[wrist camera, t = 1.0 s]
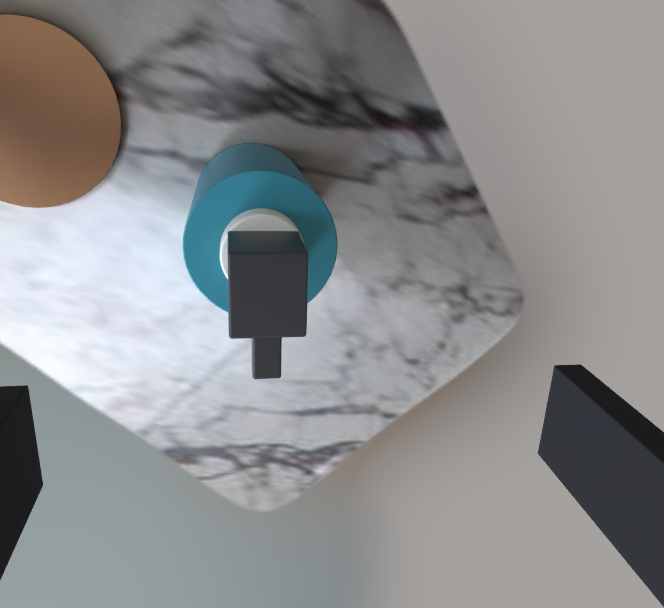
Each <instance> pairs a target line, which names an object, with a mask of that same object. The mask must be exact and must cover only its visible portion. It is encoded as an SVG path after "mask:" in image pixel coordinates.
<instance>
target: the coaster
mask: <svg viewBox="0 0 664 608" xmlns="http://www.w3.org/2000/svg"><path fill="white" fill-rule="evenodd" d="M121 132H122V119H121V112H120V106H119V102H118V98H117V95H116V92H115V90H114V87H113V85H112V82H111V80H110V79H109V77H108V75H107V73H106V71H105V70H104V68H103V67H102V66H101V64H100V63H99V61H98V60H97V59H96V58H95V57H94V55H93V54H92V53H91V52H90V51H89V50H88V49H87V48H86V47H85V46H84V45H83V44H81V43H80V42H79V41H78V40H77V39H75V38H74V37H73V36H71V35H70V34H68V33H67V32H65V31H64V30H62V29H60V28H58V27H56V26H54V25H52V24H50V23H47V22H44V21H42V20H39V19H35V18H32V17H28V16H22V15H14V14H0V201H2V202H6V203H9V204H12V205H18V206H23V207H35V208H39V207H51V206H57V205H61V204H65V203H68V202H71V201H73V200H75V199H77V198H79V197H81V196H83V195H84V194H86V193H88V192H89V191H91V190H92V189H93V188H94V187H95V186H96V185H97V184H98V183H100V181H101V180H102V179H103V178H104V177H105V175H106V174H107V173H108V171H109V170H110V168H111V166H112V165H113V163H114V160H115V158H116V156H117V153H118V149H119V145H120V140H121Z"/></svg>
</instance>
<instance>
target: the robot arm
mask: <svg viewBox="0 0 664 608" xmlns="http://www.w3.org/2000/svg"><path fill="white" fill-rule="evenodd" d="M538 454H539V455H540V457H541V458H542V459H543V460H544V461H545V463H546V464H547V465H548V466H549V468H550V469H551V470H552V471H553V472H554V474H555V475H556V476H557V477H558V479H559V480H560V481H561V482H562V483H563V485H564V486H565V487H566V488H567V489H568V491H569V492H570V493H571V494H572V496H573V497H574V498H575V499H576V501H577V502H578V503H579V504H580V505H581V507H582V508H583V509H584V510H585V511H586V513H587V514H588V515H589V516H590V518H591V519H592V520H593V521H594V522H595V524H596V525H597V526H598V527H599V528H600V530H601V531H602V532H603V533H604V535H605V536H606V537H607V538H608V539H609V541H610V542H611V543H612V544H613V546H614V547H615V548H616V549H617V550H618V552H619V553H620V554H621V555H622V557H623V558H624V559H625V560H626V561H627V563H628V564H629V565H630V566H631V567H632V569H633V570H634V571H635V572H636V574H637V575H638V576H639V577H640V579H641V580H642V581H643V582H644V583H645V585H646V586H647V587H648V588H649V589H650V591H651V592H652V593H653V594H654V596H655V597H656V598H657V599H658V600H659V602H660V603H661V604H662V605H663V607H664V432H663V431H661V430H660V429H659V428H658V427H656V426H655V425H654V424H653V423H651V422H650V421H649V420H648V419H647V418H645V417H644V416H643V415H642V414H641V413H639V412H638V411H637V410H636V409H634V408H633V407H632V406H631V405H630V404H628V403H627V402H626V401H625V400H623V399H622V398H621V397H620V396H619V395H617V394H616V393H615V392H614V391H612V390H611V389H610V388H609V387H607V386H606V385H605V384H604V383H603V382H601V381H600V380H599V379H598V378H597V377H595V376H594V375H593V374H592V373H591V372H589V371H588V370H587V369H585V368H584V367H583V366H582V365H557V366H554V371H553V376H552V381H551V387H550V392H549V397H548V402H547V408H546V413H545V418H544V424H543V429H542V434H541V440H540V445H539V450H538ZM42 486H43V481H42V475H41V468H40V462H39V455H38V449H37V442H36V435H35V429H34V422H33V416H32V409H31V403H30V397H29V390H28V386H6V387H5V386H4V387H0V579H1V577H2V575H3V573H4V570H5V568H6V566H7V564H8V562H9V559H10V557H11V555H12V553H13V551H14V548H15V546H16V544H17V542H18V539H19V537H20V535H21V533H22V531H23V528H24V526H25V524H26V522H27V520H28V517H29V515H30V513H31V511H32V508H33V506H34V504H35V502H36V500H37V497H38V495H39V493H40V491H41V488H42Z"/></svg>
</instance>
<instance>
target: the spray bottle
mask: <svg viewBox="0 0 664 608" xmlns="http://www.w3.org/2000/svg"><path fill="white" fill-rule="evenodd" d="M183 253H184V259H185V263H186V267H187V270H188V272H189V275H190V277H191V279H192V280H193V282H194V284H195V285H196V287H197V288H198V289H199V291H200V292H201V293H202V294H203V295H204V296H205V297H206V298H207V299H208V300H209V301H210V302H212V303H213V304H214V305H216V306H217V307H219V308H221V309H222V310H224V311H226V312H229V337H230V338H232V339H234V338H252V373H253V378H254V379H268V378H280V377H281V341H282V337H304V336H306V327H307V303H308V302H310V301H311V300H312V299H313V298H314V297H315V296H316V295H317V294H318V293H319V292H320V291H321V290H322V288H323V287H324V285H325V284H326V282H327V281H328V279H329V277H330V275H331V273H332V270H333V267H334V264H335V260H336V255H337V234H336V228H335V225H334V222H333V219H332V216H331V214H330V212H329V210H328V208H327V207H326V205H325V203H324V202H323V201H322V199H321V198H320V197H319V195H318V194H317V193H316V191H315V190H314V189H313V187H312V186H311V185H310V184H309V182H308V181H307V180H306V178H305V177H304V176H303V174H302V173H301V172H300V170H299V169H298V168H297V167H296V165H295V164H294V163H293V162H292V161H291V160H290V159H289V158H288V157H287V156H286V155H285V154H283V153H282V152H280V151H278V150H277V149H275V148H272V147H270V146H267V145H263V144H256V143H244V144H238V145H235V146H231V147H229V148H227V149H225V150H223V151H221V152H220V153H218V154H217V155H216V156H214V157H213V158H212V159H211V160H210V161H209V163H208V164H207V165H206V166H205V168H204V169H203V171H202V173H201V175H200V177H199V180H198V184H197V187H196V191H195V194H194V198H193V201H192V205H191V208H190V212H189V215H188V219H187V222H186V226H185V230H184V236H183Z"/></svg>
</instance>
